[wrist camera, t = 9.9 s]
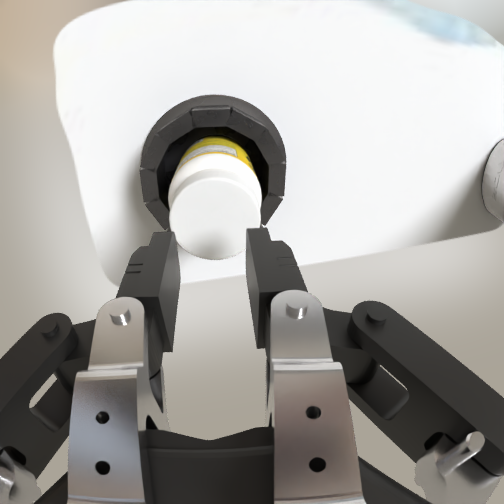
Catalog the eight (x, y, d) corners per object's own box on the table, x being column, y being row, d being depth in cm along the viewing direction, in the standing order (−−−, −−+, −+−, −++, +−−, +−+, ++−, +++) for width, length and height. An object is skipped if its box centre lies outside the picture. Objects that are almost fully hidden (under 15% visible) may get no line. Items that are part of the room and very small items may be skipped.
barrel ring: (288, 95, 18) (301, 98, 15) (281, 226, 23) (290, 250, 21) (137, 101, 17) (122, 105, 14) (151, 232, 22) (143, 256, 20)
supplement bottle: (248, 199, 21) (264, 268, 14) (181, 198, 21) (164, 269, 14) (252, 133, 19) (274, 171, 12) (180, 132, 18) (156, 169, 11)
